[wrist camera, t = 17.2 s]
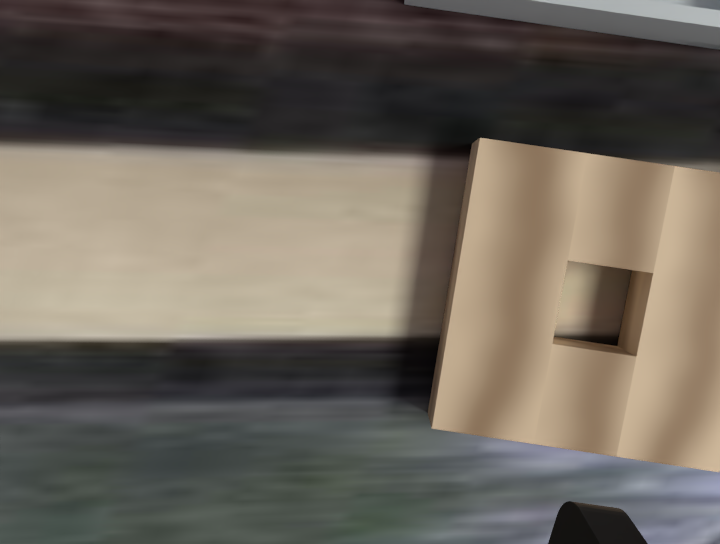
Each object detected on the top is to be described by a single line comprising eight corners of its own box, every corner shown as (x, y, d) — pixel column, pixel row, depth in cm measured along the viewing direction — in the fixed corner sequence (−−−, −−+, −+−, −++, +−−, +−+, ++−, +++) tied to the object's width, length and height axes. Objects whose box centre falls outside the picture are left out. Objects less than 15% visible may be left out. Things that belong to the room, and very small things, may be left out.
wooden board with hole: (427, 413, 34) (431, 428, 32) (471, 143, 32) (480, 137, 30) (694, 453, 34) (719, 472, 31) (752, 184, 32) (783, 181, 30)
